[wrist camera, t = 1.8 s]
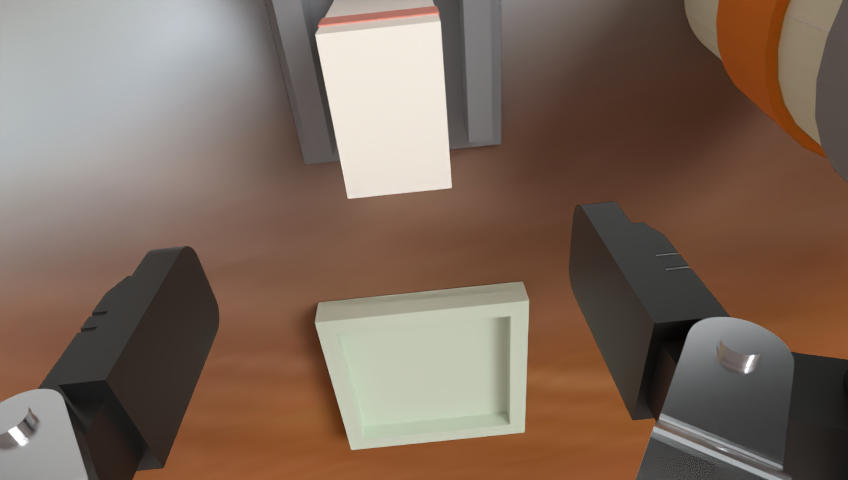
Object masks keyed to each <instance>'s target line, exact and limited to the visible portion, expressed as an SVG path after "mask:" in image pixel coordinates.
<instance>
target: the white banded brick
mask: <svg viewBox="0 0 848 480" xmlns="http://www.w3.org/2000/svg"><path fill="white" fill-rule="evenodd" d="M315 37H316V42H317V47H318V52H319V57H320V62H321V67H322V72H323V77H324V82H325V86H326V91H327V96H328V101H329V106H330V111H331V116H332V121H333V126H334V131H335V136H336V141H337V146H338V151H339V156H340V161H341V166H342V171H343V176H344V181H345V186H346V191H347V196H348V199H351V198H361V197H370V196H380V195H389V194H399V193H408V192H418V191H428V190H437V189H447V188H452V183H451V168H450V154H449V139H448V124H447V109H446V94H445V80H444V65H443V50H442V35H441V21H440V18H439V11H438V8H437V6H435V5H434V3H433V0H334V1H333V3H332V5H331V7H330V9H329V11H328V12H327V14H326V16H325V18H322V19H321V21H320V22H319V24H318V30H317V32H316V34H315Z"/></svg>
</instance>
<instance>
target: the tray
mask: <svg viewBox="0 0 848 480" xmlns="http://www.w3.org/2000/svg"><path fill="white" fill-rule="evenodd" d="M528 319H529V299H528V296H527V293H526V290H525V287H524V284H523V281H521V282H511V283H501V284H492V285H482V286H472V287H462V288H453V289H443V290H433V291H424V292H414V293H404V294H395V295H385V296H375V297H366V298H356V299H346V300H337V301H327V302H318V308H317V313H316V319H315V325H316V329H317V332H318V336H319V339H320V343H321V346H322V350H323V353H324V357H325V360H326V364H327V367H328V370H329V374H330V377H331V381H332V384H333V388H334V391H335V395H336V398H337V402H338V405H339V409H340V412H341V416H342V419H343V423H344V426H345V430H346V433H347V436H348V440H349V443H350V447H351V450H356V449H365V448H375V447H385V446H395V445H405V444H415V443H425V442H435V441H445V440H455V439H464V438H474V437H484V436H494V435H504V434H514V433H524V432H525V408H526V378H527V349H528Z"/></svg>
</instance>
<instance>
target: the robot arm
mask: <svg viewBox="0 0 848 480" xmlns="http://www.w3.org/2000/svg"><path fill="white" fill-rule="evenodd" d="M569 275H570V282H571V287H572V290H573V293H574V295H575V298H576V300H577V302H578V304H579V306H580V308H581V311H582V313H583V315H584V317H585V319H586V321H587V324H588V326H589V328H590V330H591V332H592V334H593V336H594V339H595V341H596V343H597V345H598V347H599V349H600V352H601V354H602V356H603V358H604V360H605V362H606V364H607V367H608V369H609V371H610V373H611V375H612V377H613V380H614V382H615V384H616V386H617V388H618V390H619V392H620V395H621V397H622V399H623V401H624V403H625V405H626V408H627V410H628V412H629V414H630V416H631V418H632V420H641V419H650V418H655V420H656V423H655V425H654V428H653V431H652V434H651V436H650V439H649V442H648V445H647V448H646V451H645V454H644V457H643V459H642V462H641V465H640V468H639V471H638V474H637V477H636V480H848V360H846V359H838V358H831V357H823V356H816V355H808V354H801V353H795V352H790V350H789V348H788V347H787V346H786V345H785V343H784V342H783V341H782V340H781V339H779V338H778V337H777V336H776V335H774V334H773V333H772V332H770V331H768V330H767V329H765V328H763V327H761V326H759V325H757V324H754V323H751V322H749V321H746V320H741V319H737V318H731V317H730V316H729V314H728V313H727V312H726V311H725V310H724V308H723V307H722V306H721V305H720V303H719V302H718V301H717V300H716V298H715V297H714V296H713V295H712V294H711V292H710V291H709V290H708V289H707V287H706V286H705V285H704V284H703V282H702V281H701V280H700V279H699V277H698V276H697V275H696V274H695V273H694V271H693V270H692V269H689V267H688V264H687V263H686V261H685V260H684V259H683V258H682V257H681V255H678V254H677V250H676V249H675V248H674V247H673V245H672V244H671V243H670V242H669V240H668V239H667V238H666V237H665V236H664V235H663V234H661V233H660V232H658V231H656V230H655V229H653V228H651V227H650V226H648V225H646V224H645V223H643V222H641V223H631V222H630V220H629V219H628V218H627V216H626V215H625V214H624V212H623V211H622V210H621V208H620V207H619V206H618V204H617V203H616V202H603V203H594V204H585V205H577V206H576V208H575V210H574V216H573V226H572V238H571V249H570V261H569ZM218 326H219V309H218V304H217V301H216V299H215V296H214V294H213V292H212V289H211V287H210V285H209V282H208V280H207V277H206V275H205V273H204V270H203V268H202V266H201V263H200V261H199V258H198V256H197V254H196V252H195V251H194V250H193V248H191V247H189V246H184V247H175V248H165V249H156V250H151V251H149V252H148V253H147V254H146V256H145V257H144V259H143V260H142V261H141V263H140V264H139V266H138V267H137V269H136V270H135V272H134V273H133V275H132V276H127V277H126V278H125V279H123V280H122V281H121V282H120V283H118V284H117V285H116V286H115V287H113V288H112V289H111V290H110V291H108V292H107V293H106V294H105V295H104V297H103V298H102V299H101V301H100V302H99V304H98V305H97V306H96V308H95V309H94V311H93V312H92V316H91V317H89V318H88V319H87V321H86V322H85V323H84V325H83V326H82V328H81V332H80V333H77V335H76V336H75V337H74V339H73V340H72V342H71V343H70V344H69V346H68V347H67V349H66V350H65V351H64V353H63V354H62V356H61V357H60V358H59V360H58V361H57V363H56V364H55V365H54V367H53V368H52V370H51V371H50V372H49V374H48V375H47V377H46V378H45V380H44V381H43V382H42V384H41V385H40V387H39V388H38V389H36V390H31V391H27V392H23V393H21V394H18V395H15V396H13V397H11V398H8V399H6V400H5V401H3V402H1V403H0V480H132V479H133V477H134V475H135V472H136V471H140V470H149V469H159V468H164V465H165V463H166V460H167V458H168V455H169V453H170V450H171V447H172V445H173V442H174V440H175V437H176V435H177V432H178V430H179V427H180V425H181V422H182V420H183V417H184V414H185V412H186V409H187V407H188V404H189V402H190V399H191V397H192V394H193V392H194V389H195V387H196V384H197V381H198V379H199V376H200V374H201V371H202V369H203V366H204V364H205V361H206V359H207V356H208V354H209V351H210V348H211V346H212V343H213V341H214V338H215V336H216V333H217V330H218Z"/></svg>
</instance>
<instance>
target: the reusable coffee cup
mask: <svg viewBox="0 0 848 480" xmlns="http://www.w3.org/2000/svg"><path fill="white" fill-rule="evenodd" d="M684 4H685V13H686V16H687V18H688V21H689V24H690V27H691V29H692V31H693V32H694V34H695V35H696V37H697V38H698V40H699V41H700V42H701V43H702V44H703V45H705V46H706V47H707V48H708V49H709V50H710V51H711V52H713V53H714V54H715V55H716V56H717V57H718V58H719V59H721V60H722V62H723V66H724V69H725V70H726V72H727V74H728V75H729V77H730V78H731V80H732V81H733V83H734V85H735V86H736V87H737V88H738V89H739V90H740V91H741V92H743V93H744V94H745V95H746V96H747V97H748V98H749V99H750V100H751V101H752V102H754V103H755V104H756V105H757V106H758V107H759V108H760V109H761V110H762V111H764V112H765V113H766V114H767V115H768V116H769V117H770V118H771V119H772V120H773V121H775V122H776V123H777V124H778V125H779V126H780V127H781V128H782V129H783V130H784V131H786V132H787V133H788V134H789V135H790V136H791V137H792V138H793V139H795V140H796V141H797V142H798V143H799V144H800V145H801V146H803V147H804V148H806V149H808V150H810V151H812V152H815V153H817V154H819V155H821V156H823V157H825V158H828V160H829V161H830V163H831V165H832V167H833V168H834V170H835V172H836V173H838V174H839V175H840V176H841V177H842V178H843V179H844V180H845V181H847V182H848V0H684Z"/></svg>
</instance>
